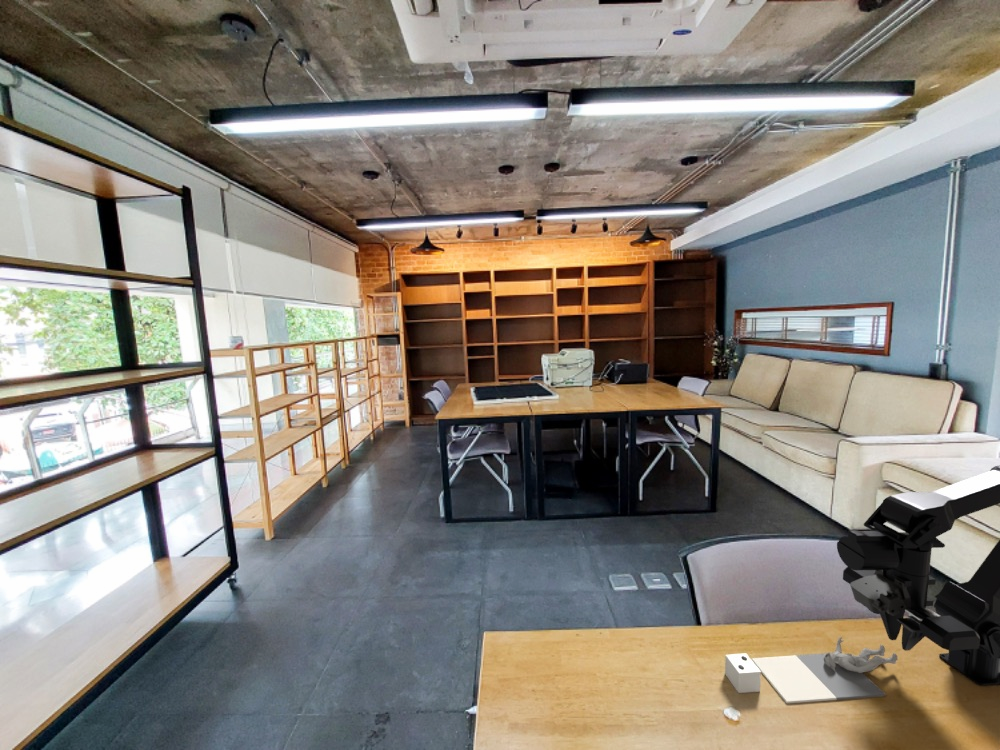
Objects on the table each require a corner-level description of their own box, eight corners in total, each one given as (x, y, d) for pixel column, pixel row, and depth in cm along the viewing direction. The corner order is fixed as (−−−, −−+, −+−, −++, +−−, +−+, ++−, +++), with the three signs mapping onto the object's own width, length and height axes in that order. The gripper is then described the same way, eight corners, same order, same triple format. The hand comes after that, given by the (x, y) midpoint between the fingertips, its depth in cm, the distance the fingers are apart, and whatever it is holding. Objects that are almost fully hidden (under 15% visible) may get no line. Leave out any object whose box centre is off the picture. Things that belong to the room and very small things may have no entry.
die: (745, 672, 74) (746, 652, 74) (760, 691, 70) (760, 671, 70) (724, 673, 74) (725, 654, 74) (738, 693, 70) (739, 672, 70)
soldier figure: (914, 665, 70) (845, 654, 70) (911, 693, 70) (843, 681, 70) (874, 638, 78) (812, 628, 78) (872, 663, 77) (810, 653, 78)
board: (839, 654, 78) (839, 652, 77) (885, 696, 69) (885, 694, 69) (751, 660, 77) (751, 658, 77) (786, 703, 68) (786, 701, 68)
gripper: (819, 541, 80) (815, 611, 82) (920, 605, 61) (912, 694, 63) (871, 538, 80) (866, 608, 82) (987, 601, 62) (977, 689, 63)
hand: (899, 644), depth 73 cm, fingers closed
